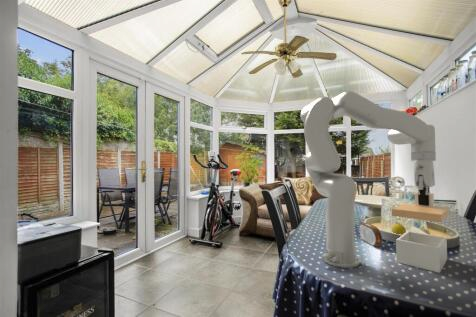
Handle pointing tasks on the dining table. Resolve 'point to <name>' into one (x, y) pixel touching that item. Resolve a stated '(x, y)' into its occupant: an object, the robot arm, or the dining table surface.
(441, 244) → the tub
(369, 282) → the dining table surface
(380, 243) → the tin
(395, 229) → the lemon
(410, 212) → the lid
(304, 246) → the dining table surface
